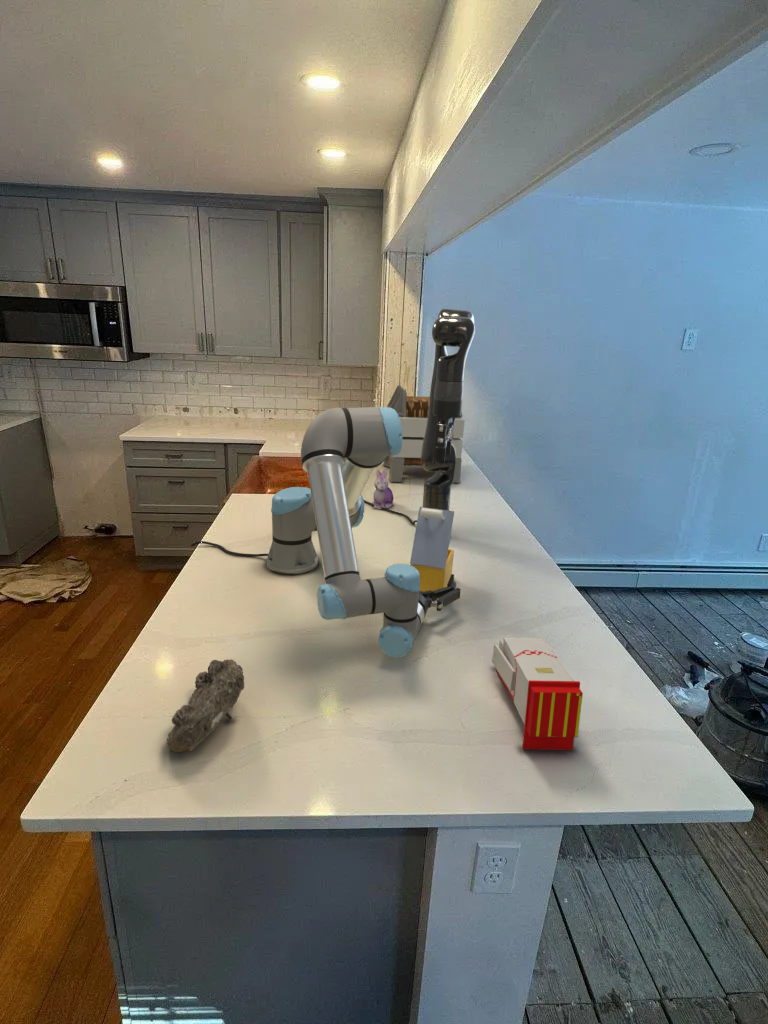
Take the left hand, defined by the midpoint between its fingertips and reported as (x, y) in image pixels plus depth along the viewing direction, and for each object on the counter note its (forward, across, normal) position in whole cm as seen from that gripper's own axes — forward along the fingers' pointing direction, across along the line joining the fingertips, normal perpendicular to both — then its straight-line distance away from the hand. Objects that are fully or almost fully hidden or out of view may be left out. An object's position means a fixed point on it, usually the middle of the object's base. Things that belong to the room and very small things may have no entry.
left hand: (427, 574), depth 155 cm
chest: (+6, 0, -7) cm, 9 cm away
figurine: (+68, -32, -7) cm, 76 cm away
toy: (-37, +29, -7) cm, 48 cm away
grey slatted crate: (+122, -29, -7) cm, 125 cm away
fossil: (-62, -28, -7) cm, 68 cm away
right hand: (+10, 0, +30) cm, 32 cm away
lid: (+3, 0, +10) cm, 10 cm away
